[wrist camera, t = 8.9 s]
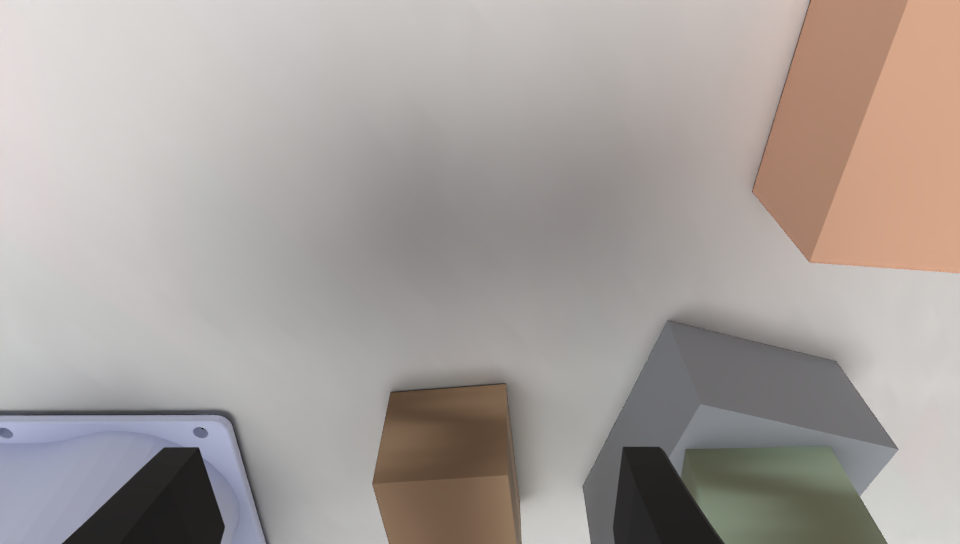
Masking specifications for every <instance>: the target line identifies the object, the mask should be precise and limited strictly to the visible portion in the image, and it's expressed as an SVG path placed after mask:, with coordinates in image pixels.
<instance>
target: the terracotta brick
mask: <svg viewBox="0 0 960 544" xmlns="http://www.w3.org/2000/svg"><path fill="white" fill-rule="evenodd" d="M752 192H753V193H754V195H755V196H756V197H757V198H758V199H759V201H760V202H761V203H762V204H763V206H764V207H765V208H766V209H767V211H768V212H769V213H770V214H771V216H772V217H773V218H774V219H775V220H776V222H777V223H778V224H779V225H780V227H781V228H782V229H783V230H784V232H785V233H786V234H787V235H788V237H789V238H790V239H791V240H792V241H793V243H794V244H795V245H796V246H797V248H798V249H799V250H800V251H801V253H802V254H803V255H804V256H805V257H806V259H807V260H808V261H809V262H810V263H824V264H839V265H853V266H867V267H881V268H895V269H909V270H923V271H938V272H952V273H960V0H811V2H810V5H809V8H808V12H807V15H806V18H805V21H804V25H803V28H802V31H801V34H800V38H799V41H798V44H797V47H796V51H795V54H794V57H793V61H792V64H791V67H790V70H789V74H788V77H787V80H786V83H785V87H784V90H783V93H782V97H781V100H780V103H779V106H778V110H777V113H776V116H775V119H774V123H773V126H772V129H771V132H770V136H769V139H768V142H767V146H766V149H765V152H764V155H763V159H762V162H761V165H760V168H759V172H758V175H757V178H756V182H755V185H754V188H753V191H752Z"/></svg>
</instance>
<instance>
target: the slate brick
mask: <svg viewBox="0 0 960 544" xmlns="http://www.w3.org/2000/svg"><path fill="white" fill-rule="evenodd" d="M821 446H830V448H831V449H832V451H833V453H834V454H835V456H836V458H837V459H838V461H839V463H840V464H841V466H842V468H843V469H844V471H845V473H846V475H847V476H848V478H849V480H850V481H851V483H852V485H853V486H854V488H855V490H856V491H857V493H858V495H859V496H860V495H861V494H862V493H863V492H864V491H865V489H866V488H867V487H868V486H869V485H870V483H871V482H872V481H873V480H874V479H875V477H876V476H877V475H878V474H879V473H880V471H881V470H882V469H883V468H884V467H885V465H886V464H887V463H888V462H889V460H890V459H891V458H892V457H893V456H894V454H895V453H896V452H897V451H898V450H899V449H898V448H897V446H896V445H895V443H894V442H893V441H892V439H891V438H890V436H889V435H888V434H887V432H886V431H885V429H884V428H883V427H882V425H881V424H880V422H879V421H878V420H877V418H876V417H875V415H874V414H873V412H872V411H871V410H870V408H869V407H868V405H867V404H866V403H865V401H864V400H863V398H862V397H861V396H860V394H859V393H858V391H857V390H856V389H855V387H854V386H853V384H852V383H851V381H850V380H849V379H848V377H847V376H846V374H845V373H844V372H843V370H842V369H841V367H840V366H839V365H838V363H837V362H836V361H832V360H828V359H824V358H820V357H816V356H812V355H808V354H804V353H799V352H795V351H791V350H787V349H783V348H779V347H775V346H771V345H767V344H762V343H758V342H754V341H750V340H746V339H742V338H738V337H734V336H730V335H725V334H721V333H717V332H713V331H709V330H705V329H701V328H697V327H693V326H688V325H684V324H680V323H676V322H672V321H667V323H666V325H665V327H664V328H663V330H662V332H661V334H660V336H659V338H658V340H657V342H656V344H655V346H654V348H653V350H652V352H651V354H650V356H649V358H648V360H647V362H646V364H645V366H644V368H643V370H642V371H641V373H640V375H639V377H638V379H637V381H636V383H635V385H634V387H633V389H632V391H631V393H630V395H629V397H628V399H627V401H626V403H625V405H624V407H623V409H622V411H621V413H620V414H619V416H618V418H617V420H616V422H615V424H614V426H613V428H612V430H611V432H610V434H609V436H608V438H607V440H606V442H605V444H604V446H603V448H602V450H601V452H600V454H599V456H598V457H597V459H596V461H595V463H594V465H593V467H592V469H591V471H590V473H589V475H588V477H587V479H586V481H585V483H584V485H583V492H584V499H585V506H586V513H587V519H588V526H589V533H590V540H591V544H615V542H614V534H613V522H614V514H615V505H616V497H617V489H618V481H619V473H620V465H621V457H622V448H623V447H660V448H661V449H663V450H664V451H665V453H666V454H667V456H668V458H669V460H670V461H671V463H672V465H673V466H674V468H675V470H676V471H677V473H678V475H679V476H680V478H681V473H682V467H683V460H684V454H685V449H717V448H769V447H821Z"/></svg>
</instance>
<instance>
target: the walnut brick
mask: <svg viewBox="0 0 960 544" xmlns="http://www.w3.org/2000/svg"><path fill="white" fill-rule="evenodd" d="M372 485H373V488H374V492H375V495H376V499H377V503H378V506H379V510H380V513H381V517H382V520H383V524H384V527H385V531H386V535H387V538H388V542H389V544H522V542H521V518H520V500H519V491H518V483H517V475H516V466H515V458H514V449H513V441H512V433H511V424H510V416H509V407H508V399H507V390H506V384H500V385H486V386H473V387H459V388H446V389H432V390H419V391H406V392H392V393H390V397H389V402H388V407H387V412H386V417H385V422H384V427H383V432H382V437H381V442H380V448H379V453H378V458H377V463H376V468H375V473H374V478H373V483H372Z"/></svg>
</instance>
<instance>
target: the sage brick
mask: <svg viewBox="0 0 960 544" xmlns="http://www.w3.org/2000/svg"><path fill="white" fill-rule="evenodd" d="M681 479H682V481H683V483H684V484H685V486H686V487H687V489H688V490H689V492H690V494H691V495H692V497H693V498H694V500H695V501H696V503H697V504H698V506H699V507H700V509H701V510H702V512H703V513H704V515H705V516H706V518H707V519H708V521H709V522H710V524H711V525H712V526H713V528H714V529H715V531H716V532H717V534H718V535H719V536H720V538H721V539H722V540H723V542H724V543H725V544H887V542H886V540H885V538H884V537H883V535H882V533H881V532H880V530H879V528H878V527H877V525H876V523H875V522H874V520H873V518H872V517H871V515H870V513H869V512H868V510H867V508H866V507H865V505H864V503H863V501H862V500H861V498H860V496H859V495H858V493H857V491H856V490H855V488H854V486H853V485H852V483H851V481H850V480H849V478H848V476H847V475H846V473H845V471H844V469H843V468H842V466H841V464H840V463H839V461H838V459H837V458H836V456H835V454H834V453H833V451H832V449H831V448H830V446H821V447H769V448H717V449H685V454H684V460H683V467H682V473H681Z"/></svg>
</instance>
